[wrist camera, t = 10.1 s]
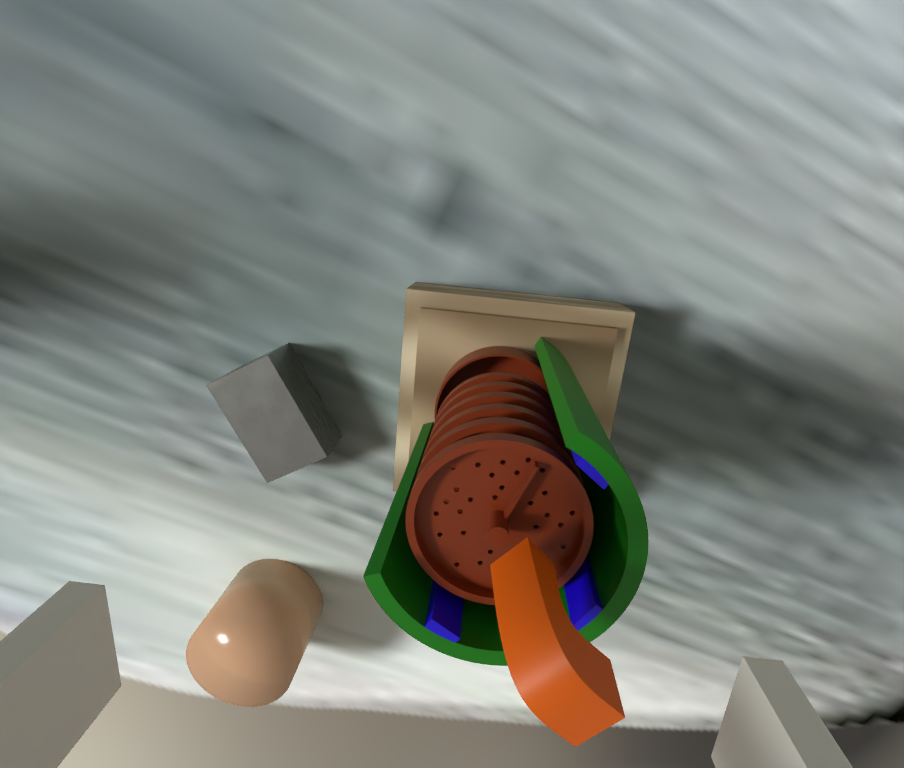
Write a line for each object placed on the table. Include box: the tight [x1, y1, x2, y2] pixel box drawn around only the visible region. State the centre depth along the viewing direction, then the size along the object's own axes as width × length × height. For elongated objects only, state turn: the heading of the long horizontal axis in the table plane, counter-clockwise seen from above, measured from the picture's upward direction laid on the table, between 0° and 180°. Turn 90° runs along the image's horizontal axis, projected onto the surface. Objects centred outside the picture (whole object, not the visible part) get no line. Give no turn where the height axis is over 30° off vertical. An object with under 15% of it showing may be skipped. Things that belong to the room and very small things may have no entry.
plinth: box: [393, 282, 635, 491], centre depth 35 cm, size 14×14×5 cm
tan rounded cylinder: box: [186, 559, 323, 707], centre depth 41 cm, size 8×8×7 cm
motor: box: [363, 337, 648, 746], centre depth 24 cm, size 10×9×20 cm
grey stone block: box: [206, 343, 342, 483], centre depth 37 cm, size 8×5×4 cm, turn 26°
